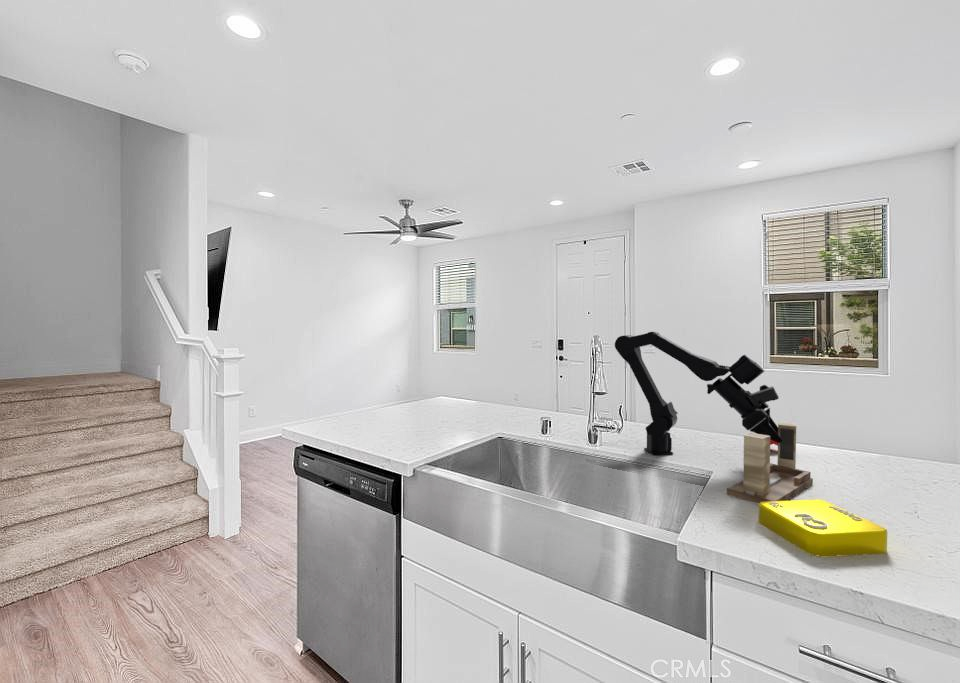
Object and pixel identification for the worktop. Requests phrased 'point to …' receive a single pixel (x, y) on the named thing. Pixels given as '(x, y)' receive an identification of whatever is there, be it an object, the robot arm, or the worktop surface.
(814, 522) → the element tile
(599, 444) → the worktop surface
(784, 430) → the tan wooden upright block
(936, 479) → the worktop surface
